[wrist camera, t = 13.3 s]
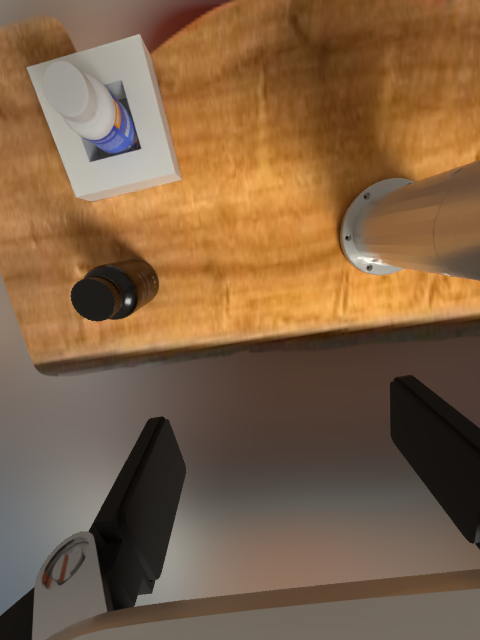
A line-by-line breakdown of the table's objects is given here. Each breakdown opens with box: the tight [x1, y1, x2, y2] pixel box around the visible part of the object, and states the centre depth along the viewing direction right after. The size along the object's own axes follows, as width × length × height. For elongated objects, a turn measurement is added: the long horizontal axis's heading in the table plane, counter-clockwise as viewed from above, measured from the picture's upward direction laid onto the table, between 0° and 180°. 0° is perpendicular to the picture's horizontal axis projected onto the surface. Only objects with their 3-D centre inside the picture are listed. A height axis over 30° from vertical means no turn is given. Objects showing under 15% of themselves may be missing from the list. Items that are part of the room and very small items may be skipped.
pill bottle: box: [43, 61, 140, 156], centre depth 25 cm, size 5×5×10 cm
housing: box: [27, 34, 182, 202], centre depth 29 cm, size 13×13×4 cm
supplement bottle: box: [71, 260, 159, 321], centre depth 31 cm, size 7×7×12 cm
